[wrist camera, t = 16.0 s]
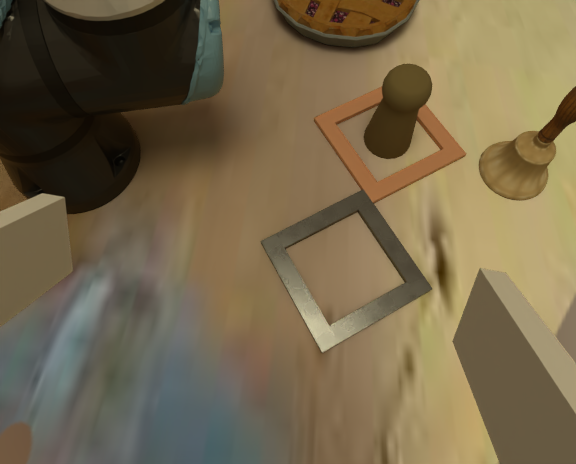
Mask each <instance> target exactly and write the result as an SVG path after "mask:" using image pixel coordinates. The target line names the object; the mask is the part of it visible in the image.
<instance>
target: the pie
mask: <svg viewBox="0 0 576 464" xmlns="http://www.w3.org/2000/svg"><path fill="white" fill-rule="evenodd" d="M274 1H275V4H276V8H277V9H278V10H279V11H280V12H281V13H282V14H283V15H284V17H285V19H286V21H287V23H289V24H290V25H291V26H292V27H293V28H295V29H296V30H297V31H298V32H299V33H301V34H302V35H303V36H306V37H308V38H311V39H313V40H316V41H318V42H321V43H323V44H326V45H334V46H344V47H359V46H365V45H372V44H376V43H378V42H379V41H381V40H382V39H383V38H385V37H386V36H388V35H389V34H390V33H392V32H393V31H394V30H395V29H396V28H397V27H399V26H400V25H402V24H403V23H404V22H406V21H407V20H408V19H409V18H410V16H411V14H412V12H413V11H414V9H415V7H416V6H417V4H418V2H419V0H274Z"/></svg>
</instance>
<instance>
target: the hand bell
mask: <svg viewBox="0 0 576 464" xmlns="http://www.w3.org/2000/svg"><path fill="white" fill-rule="evenodd" d="M575 121H576V86H575V87H574V88H573V89H572V90H571V91H570V92H569V93H568V94H567V95H566V97H565V98H564V99H563V101H562V102H561V104H560V105H559V107H558V109H557V112H556V114H555V116H554V117H553V119H552V120H551V121H550V122H549V123H548V124H547V125H546V126H545V127H544V128H543V129H541V130H540V131H539V132H537V131H528V132H524V133H522V134H520V135H519V136H518V137H517V138H516V139H514V140H513V141H505V142H499V143H496V144H493V145H491V146H490V147H488V148H487V149H486V150H485V151H484V152H483V153H482V155H481V158H480V161H479V170H480V174H481V176H482V178H483V180H484V182H485V183H486V184H487V186H488V187H489V188H490V189H492V190H493V191H494V192H495V193H497V194H499V195H501V196H503V197H505V198H509V199H514V200H526V199H530V198H533V197H535V196H537V195H538V194H540V193H541V192H542V191H543V189H544V188H545V186H546V184H547V180H548V169H547V166H548V165H549V163H550V162H551V161H552V160H553V159H554V157H555V154H556V147H555V144H554V142H553V141H554V139H555V138H556V137H557V136H558V135H559V134H560V133H561V132H562V130H563V129H564V128H565V127H566V126H568V125H569V124H571V123H573V122H575Z"/></svg>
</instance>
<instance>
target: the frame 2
mask: <svg viewBox="0 0 576 464" xmlns="http://www.w3.org/2000/svg"><path fill="white" fill-rule="evenodd" d="M356 212H358V213H359V214H360V216H361V217H362V219H363V220H364V222H365V223H366V225H367V226H368V228H369V229H370V231H371V232H372V234H373V235H374V237H375V238H376V240H377V241H378V243H379V244H380V246H381V247H382V249H383V250H384V252H385V253H386V255H387V256H388V258H389V259H390V261H391V262H392V264H393V265H394V267H395V268H396V270H397V271H398V273H399V274H400V276H401V277H402V279H403V280H404V282H405V283H404V284H402V285H400V286H399V287H397V288H395V289H393V290H392V291H390V292H388V293H386V294H384V295H383V296H381V297H379V298H377V299H376V300H374V301H372V302H370V303H369V304H367V305H365V306H363V307H362V308H360V309H358V310H356V311H354V312H353V313H351V314H349V315H347V316H346V317H344V318H342V319H340V320H339V321H337V322H335V323H333V324H331V325H330V326H329V325H328V323H327V321H326V320H325V318H324V316H323V314H322V313H321V311H320V309H319V307H318V306H317V304H316V302H315V300H314V299H313V297H312V295H311V294H310V292H309V290H308V288H307V287H306V285H305V283H304V281H303V280H302V278H301V276H300V274H299V273H298V271H297V269H296V267H295V266H294V264H293V262H292V260H291V259H290V257H289V255H288V253H287V252H286V250H285V249H286V248H288V247H290V246H292V245H294V244H296V243H298V242H300V241H302V240H304V239H306V238H308V237H309V236H311V235H313V234H315V233H317V232H319V231H321V230H323V229H325V228H327V227H329V226H331V225H333V224H335V223H337V222H339V221H340V220H342V219H344V218H346V217H348V216H350V215H352V214H354V213H356ZM261 244H262V246H263V247H264V249H265V251H266V253H267V255H268V256H269V258H270V260H271V262H272V264H273V265H274V267H275V269H276V271H277V273H278V274H279V276H280V278H281V280H282V282H283V284H284V285H285V287H286V289H287V291H288V293H289V294H290V296H291V298H292V300H293V302H294V303H295V305H296V307H297V309H298V311H299V312H300V314H301V316H302V318H303V320H304V322H305V323H306V325H307V327H308V329H309V331H310V332H311V334H312V336H313V338H314V340H315V341H316V343H317V345H318V347H319V349H320V350H321V352H322V353H323V352H325V351H326V350H328V349H330V348H331V347H333V346H335V345H337V344H338V343H340V342H342V341H344V340H345V339H347V338H349V337H350V336H352V335H354V334H356V333H357V332H359V331H361V330H363V329H364V328H366V327H368V326H370V325H371V324H373V323H375V322H376V321H378V320H380V319H382V318H383V317H385V316H387V315H389V314H390V313H392V312H394V311H395V310H397V309H399V308H401V307H402V306H404V305H406V304H408V303H409V302H411V301H413V300H415V299H416V298H418V297H420V296H421V295H423V294H425V293H427V292H428V291H430V290H432V287H431V286H430V284H429V283H428V282H427V280H426V279H425V277H424V276H423V274H422V273H421V271H420V270H419V269H418V267H417V266H416V264H415V263H414V261H413V260H412V258H411V257H410V256H409V254H408V253H407V251H406V250H405V248H404V247H403V245H402V244H401V243H400V241H399V240H398V238H397V237H396V235H395V234H394V232H393V231H392V230H391V228H390V227H389V225H388V224H387V222H386V221H385V219H384V218H383V217H382V215H381V214H380V212H379V211H378V209H377V208H376V206H375V205H374V204H373V202H372V201H371V199H370V198H369V196H368V195H367V193H366V192H365V191H364V189H363V190H361V191H359V192H357V193H355V194H353V195H351V196H349V197H347V198H345V199H343V200H341V201H339V202H337V203H335V204H333V205H331V206H329V207H327V208H325V209H323V210H321V211H319V212H318V213H316V214H314V215H312V216H310V217H308V218H306V219H304V220H302V221H300V222H298V223H296V224H294V225H292V226H290V227H288V228H286V229H284V230H282V231H280V232H278V233H276V234H274V235H272V236H270V237H268V238H266V239H264V240H262V241H261Z"/></svg>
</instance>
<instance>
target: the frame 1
mask: <svg viewBox="0 0 576 464" xmlns="http://www.w3.org/2000/svg"><path fill="white" fill-rule="evenodd" d="M382 98H383V95H382V87H380V88H378V89H376V90H373V91H371V92H369V93H367V94H365V95H363V96H360V97H358V98H356V99H354V100H352V101H349V102H347V103H345V104H343V105H341V106H339V107H336V108H334V109H332V110H330V111H328V112H325V113H323V114H321V115H319V116H317V117H315V118H314V122H315V123H316V124H317V126H318V127H319V129H320V130H321V132H322V133H323V135H324V136H325V137H326V139H327V140H328V142H329V143H330V145H331V146H332V148H333V149H334V151H335V152H336V153H337V155H338V156H339V158H340V159H341V161H342V162H343V164H344V165H345V166H346V168H347V169H348V171H349V172H350V174H351V175H352V177H353V178H354V180H355V181H356V182H357V184H358V185H359V187H360V188H361V190H363V189H364V191H365V192H366V193H367V195H368V196H369V198H370V199H371V201H372V202H373V203H375V202H377V201H379V200H381V199H383V198H385V197H387V196H389V195H391V194H393V193H395V192H397V191H399V190H401V189H403V188H404V187H406V186H408V185H410V184H412V183H414V182H416V181H418V180H420V179H422V178H424V177H426V176H428V175H430V174H432V173H434V172H435V171H437V170H439V169H441V168H443V167H445V166H447V165H449V164H451V163H453V162H455V161H457V160H459V159H461V158H463V157H464V156H465V155H466V153H465V152H464V150H463V149H462V148H461V147H460V146H459V144H458V143H457V142H456V141H455V140H454V138H453V137H452V136H451V135H450V134H449V132H448V131H447V130H446V129H445V128H444V126H443V125H442V124H441V123H440V122H439V120H438V119H437V118H436V117H435V115H434V114H433V113H432V112H431V111H430V109H429V108H428V107H427V106H426V105H424V106H423V107H421V108H420V109H419V112H418V115H417V121H418V122H419V123H420V124H421V126H422V127H423V128H424V129H425V131H426V132H427V133H428V134H429V135H430V137H431V138H432V139H433V140H434V142H435V143H436V144H437V145H438V147H439V148H440V149H441V150H440V151H438V152H436V153H434V154H432V155H430V156H428V157H426V158H424V159H422V160H420V161H418V162H416V163H414V164H412V165H410V166H408V167H406V168H404V169H402V170H401V171H399V172H397V173H395V174H393V175H391V176H389V177H387V178H385V179H383V180H381V181H379V182H377V181H376V179H375V178H374V177H373V175H372V174H371V172H370V171H369V170H368V168H367V167H366V165H365V164H364V163H363V161H362V160H361V158H360V157H359V156H358V154H357V153H356V151H355V150H354V149H353V147H352V146H351V144H350V143H349V142H348V140H347V139H346V137H345V136H344V134H343V133H342V132H341V130H340V129H339V127H338V126H337V124H339V123H341V122H343V121H345V120H348V119H350V118H352V117H354V116H356V115H358V114H360V113H363V112H365V111H367V110H369V109H371V108H373V107H375V106H378V105H379V104H380V102H381V100H382Z"/></svg>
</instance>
